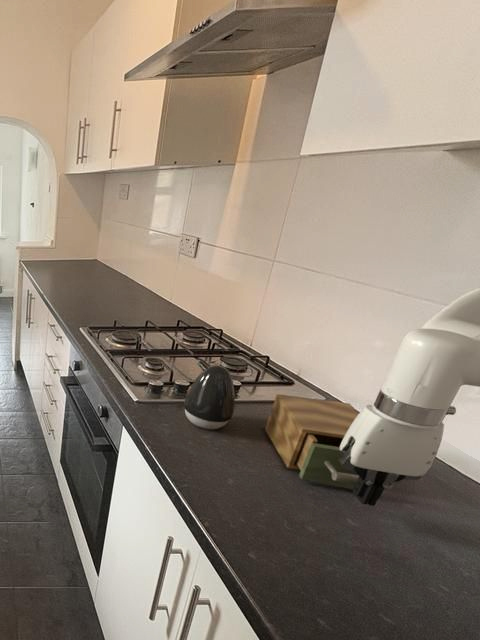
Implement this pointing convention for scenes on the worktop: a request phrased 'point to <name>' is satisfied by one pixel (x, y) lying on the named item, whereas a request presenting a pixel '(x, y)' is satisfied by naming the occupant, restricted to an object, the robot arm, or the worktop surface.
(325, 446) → the drawer
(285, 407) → the cabinet
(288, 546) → the worktop surface
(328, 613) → the worktop surface
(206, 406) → the dark grey egg ornament
